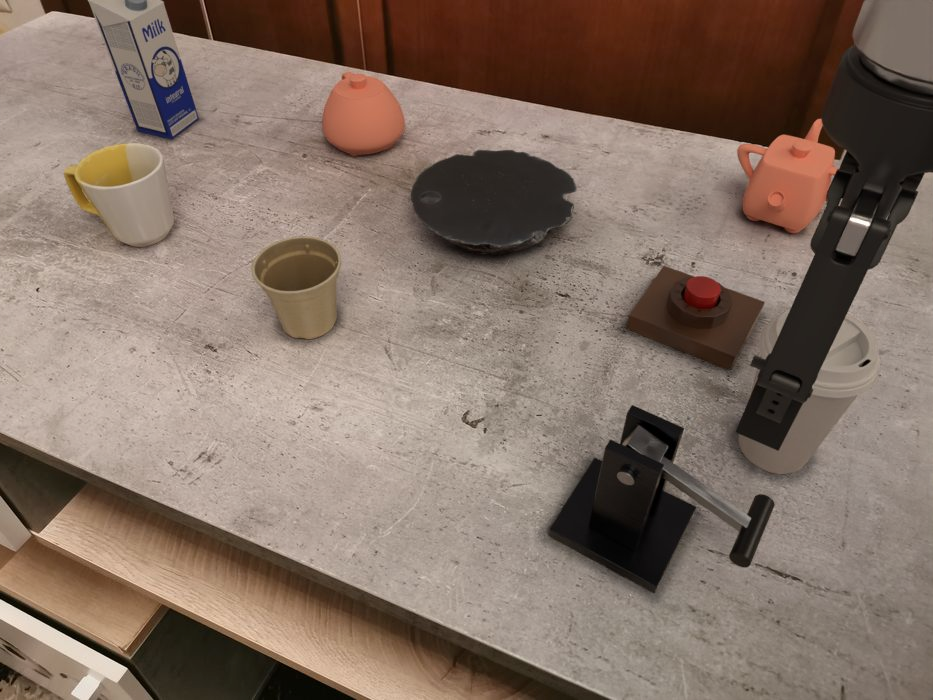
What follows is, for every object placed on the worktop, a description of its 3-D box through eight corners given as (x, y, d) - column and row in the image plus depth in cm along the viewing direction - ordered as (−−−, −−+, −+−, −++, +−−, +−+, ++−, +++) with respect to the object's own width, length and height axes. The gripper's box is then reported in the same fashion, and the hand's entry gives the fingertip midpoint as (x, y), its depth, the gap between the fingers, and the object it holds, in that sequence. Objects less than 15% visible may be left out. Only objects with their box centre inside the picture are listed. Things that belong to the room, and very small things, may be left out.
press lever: (764, 512, 58) (782, 501, 56) (739, 572, 54) (757, 562, 52) (635, 422, 60) (648, 408, 58) (603, 474, 56) (616, 461, 54)
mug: (203, 223, 97) (180, 153, 89) (148, 267, 90) (117, 196, 83) (128, 197, 101) (99, 128, 94) (70, 237, 95) (34, 167, 87)
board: (378, 246, 93) (373, 213, 89) (457, 162, 106) (456, 130, 102) (536, 298, 85) (539, 264, 82) (600, 201, 99) (605, 168, 95)
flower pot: (367, 310, 84) (358, 251, 78) (318, 362, 79) (304, 303, 73) (303, 284, 88) (289, 226, 81) (251, 333, 82) (232, 274, 76)
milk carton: (166, 110, 118) (122, -20, 103) (200, 118, 116) (160, -14, 102) (136, 131, 113) (86, -2, 99) (171, 140, 112) (124, 5, 97)
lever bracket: (694, 513, 65) (729, 425, 56) (654, 594, 60) (686, 512, 51) (593, 464, 69) (610, 374, 60) (547, 535, 64) (559, 449, 55)
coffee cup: (750, 496, 66) (802, 389, 56) (705, 416, 73) (745, 306, 62) (845, 478, 68) (915, 369, 57) (793, 400, 74) (847, 290, 63)
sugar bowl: (337, 170, 105) (327, 104, 98) (313, 125, 114) (301, 62, 107) (417, 151, 108) (412, 86, 101) (387, 109, 117) (381, 46, 110)
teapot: (847, 242, 92) (878, 172, 84) (755, 250, 91) (779, 180, 84) (799, 180, 102) (823, 113, 94) (716, 186, 101) (734, 119, 94)
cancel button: (721, 295, 80) (725, 283, 79) (710, 314, 78) (714, 302, 77) (690, 283, 81) (693, 271, 80) (678, 302, 79) (681, 290, 78)
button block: (759, 315, 83) (769, 289, 80) (730, 371, 77) (740, 344, 74) (660, 279, 87) (666, 253, 85) (625, 328, 82) (631, 302, 79)
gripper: (898, -40, 42) (785, 249, 57) (770, 164, 28) (666, 475, 43) (1047, -15, 39) (886, 282, 55) (990, 227, 25) (794, 536, 40)
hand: (789, 368), depth 49 cm, fingers open, 13 cm apart
